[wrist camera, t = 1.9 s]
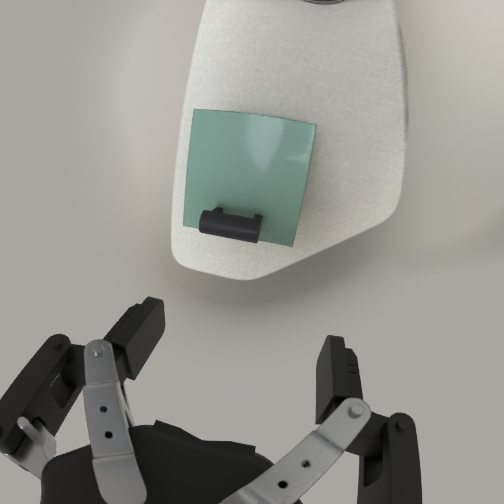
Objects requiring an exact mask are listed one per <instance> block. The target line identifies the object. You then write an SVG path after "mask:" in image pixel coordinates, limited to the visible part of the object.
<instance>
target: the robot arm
mask: <svg viewBox="0 0 504 504" xmlns="http://www.w3.org/2000/svg"><path fill="white" fill-rule="evenodd" d="M306 1H309V2H313V3H320V4H331V3H338V2H341V1H344V0H306ZM164 330H165V314H164V302H163V301H162V300H160V299H156V298H153V297H147V298H146V299H145V300H144V302H143V303H142V304H135V305H134V306H132V307H130V308H128V310H127V311H126V312H125V313H124V314H123V316H122V317H121V318H120V319H119V321H118V322H117V323H116V324H115V325H114V326H113V327H112V329H111V330H110V331H109V332H108V333H107V335H106V336H105V337H104V339H102V340H99V339H98V340H93V341H91V342H89V343H88V344H87V345H86V346H82V345H75V344H71V342H70V340H69V338H68V337H67V336H65V335H63V334H56V335H53V336H51V337H49V338H48V339H47V340H46V342H45V343H44V344H43V345H42V346H41V348H40V349H39V350H38V351H37V353H36V354H35V355H34V356H33V357H32V358H31V360H30V361H29V362H28V363H27V365H26V366H25V367H24V369H23V370H22V371H21V372H20V374H19V375H18V376H17V378H16V379H15V380H14V381H13V383H12V384H11V386H10V387H9V388H8V390H7V391H6V392H5V394H4V395H3V397H2V398H1V400H0V452H1V453H2V454H4V455H5V456H6V457H7V458H9V459H10V460H11V461H12V462H14V463H15V464H17V465H19V466H20V467H21V468H23V469H24V470H26V471H29V472H31V473H32V474H33V475H35V476H36V477H38V478H39V479H40V480H41V492H42V493H41V502H40V504H303V503H302V502H301V500H300V499H299V498H300V497H301V496H302V495H303V494H304V493H305V492H307V490H309V489H310V487H312V486H313V485H314V484H315V483H316V482H317V481H318V480H319V479H320V478H321V477H322V476H323V475H324V474H325V473H326V471H327V470H328V469H329V468H330V467H331V466H332V465H333V464H334V463H335V462H336V461H337V460H338V458H339V457H340V456H341V455H342V454H343V452H344V451H347V452H350V453H353V454H356V455H359V481H358V498H357V504H422V486H421V470H420V459H419V450H418V442H417V434H416V427H415V423H414V421H413V419H412V418H411V417H410V416H409V415H407V414H405V413H395V414H393V415H391V416H390V418H389V417H385V416H382V415H379V414H376V413H374V412H372V411H371V409H370V407H369V405H368V404H367V403H366V402H364V401H363V395H362V387H361V380H360V375H359V368H358V361H357V356H356V355H355V353H354V352H353V350H352V349H349V348H345V343H344V338H343V337H340V336H333V335H328V336H327V337H326V340H325V342H324V345H323V347H322V350H321V352H320V355H319V357H318V360H317V367H316V422H315V424H321V425H320V426H319V427H318V428H317V429H316V430H315V431H312V432H311V433H310V434H309V435H308V436H306V437H305V438H304V439H303V440H302V441H301V442H300V443H299V444H298V445H297V446H296V447H294V448H293V449H292V450H291V451H290V452H289V453H288V454H286V455H285V456H284V457H283V458H282V459H280V460H279V461H278V462H277V463H276V464H273V463H272V462H271V461H270V460H268V459H267V458H265V457H264V456H262V455H260V454H258V453H256V452H255V448H256V446H252V445H246V444H241V443H236V442H232V441H205V440H201V439H199V438H197V437H195V436H193V435H191V434H190V433H188V432H186V431H184V430H183V429H181V428H179V427H176V426H173V425H170V424H167V423H163V422H161V421H158V420H156V422H155V423H154V425H139V426H135V423H134V420H133V417H132V414H131V411H130V407H129V403H128V399H127V394H126V390H125V385H124V381H125V380H126V378H129V379H131V380H135V379H136V377H137V375H138V374H139V372H140V371H141V369H142V367H143V366H144V364H145V362H146V361H147V359H148V358H149V356H150V354H151V353H152V351H153V349H154V348H155V346H156V344H157V343H158V341H159V340H160V338H161V337H162V335H163V333H164ZM56 377H57V378H56ZM55 378H56V379H55ZM54 380H55V381H54ZM53 381H54V382H53ZM51 384H52V385H51ZM82 389H83V396H84V405H85V413H86V420H87V426H88V433H89V438H90V443H91V444H89V445H87V446H84V447H81V448H79V449H76V450H73V451H71V452H68V453H65V454H62V455H59V456H56V457H54V455H55V454H56V441H55V438H54V437H55V435H56V433H57V431H58V430H59V427H60V426H61V424H62V423H63V421H64V419H65V417H66V416H67V414H68V412H69V411H70V409H71V407H72V406H73V404H74V402H75V401H76V399H77V397H78V395H79V394H80V392H81V391H82Z"/></svg>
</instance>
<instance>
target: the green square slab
mask: <svg viewBox="0 0 504 504" xmlns="http://www.w3.org/2000/svg"><path fill="white" fill-rule="evenodd" d="M315 131H316V124H311V123H306V122H300V121H295V120H289V119H284V118H277V117H271V116H264V115H257V114H249V113H240V112H230V111H219V110H204V109H194V111H193V119H192V127H191V135H190V144H189V154H188V164H187V175H186V187H185V201H184V217H183V226H187V227H193V228H198V229H199V231H200V232H201V233H206V234H211V235H216V236H221V237H226V238H232V239H237V240H242V241H247V242H252V243H257V242H258V240H260V241H265V242H270V243H275V244H280V245H285V246H290V247H293V243H294V239H295V234H296V229H297V225H298V220H299V215H300V210H301V206H302V201H303V196H304V191H305V186H306V180H307V175H308V170H309V165H310V159H311V154H312V148H313V143H314V137H315Z"/></svg>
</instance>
